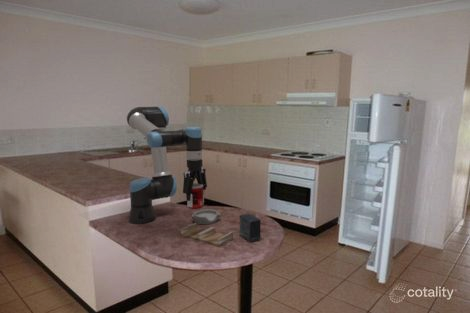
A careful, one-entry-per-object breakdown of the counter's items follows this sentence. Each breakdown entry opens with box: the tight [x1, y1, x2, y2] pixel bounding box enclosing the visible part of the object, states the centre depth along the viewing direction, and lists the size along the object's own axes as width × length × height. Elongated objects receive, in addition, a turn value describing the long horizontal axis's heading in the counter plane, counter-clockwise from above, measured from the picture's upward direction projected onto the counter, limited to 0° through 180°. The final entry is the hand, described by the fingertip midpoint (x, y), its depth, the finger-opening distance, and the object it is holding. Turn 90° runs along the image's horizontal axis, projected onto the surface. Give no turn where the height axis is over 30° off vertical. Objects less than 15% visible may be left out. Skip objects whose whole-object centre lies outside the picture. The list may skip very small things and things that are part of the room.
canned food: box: [188, 182, 204, 210], centre depth 163 cm, size 8×8×11 cm
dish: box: [191, 208, 221, 225], centre depth 186 cm, size 14×14×5 cm
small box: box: [239, 213, 261, 243], centre depth 161 cm, size 11×6×10 cm, turn 28°
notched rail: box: [180, 222, 234, 248], centre depth 162 cm, size 24×11×4 cm, turn 56°
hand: (195, 204), depth 163 cm, fingers closed on canned food, 8 cm apart
